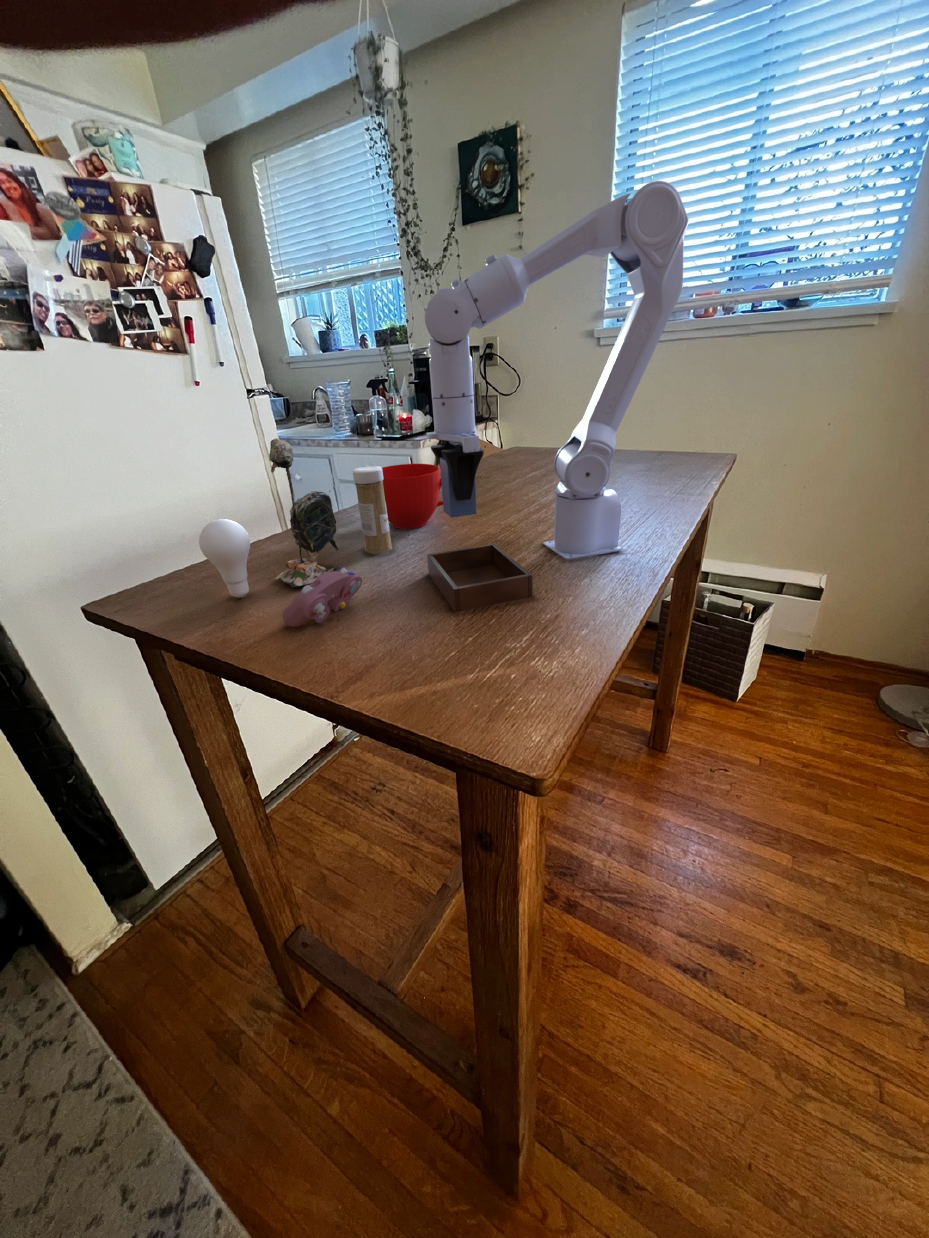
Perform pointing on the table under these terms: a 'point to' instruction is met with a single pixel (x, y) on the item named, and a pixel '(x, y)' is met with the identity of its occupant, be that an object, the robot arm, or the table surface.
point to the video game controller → (322, 597)
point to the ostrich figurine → (305, 523)
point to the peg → (449, 499)
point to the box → (479, 577)
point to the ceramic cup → (411, 493)
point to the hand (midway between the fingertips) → (459, 496)
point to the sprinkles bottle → (372, 509)
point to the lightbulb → (227, 553)
